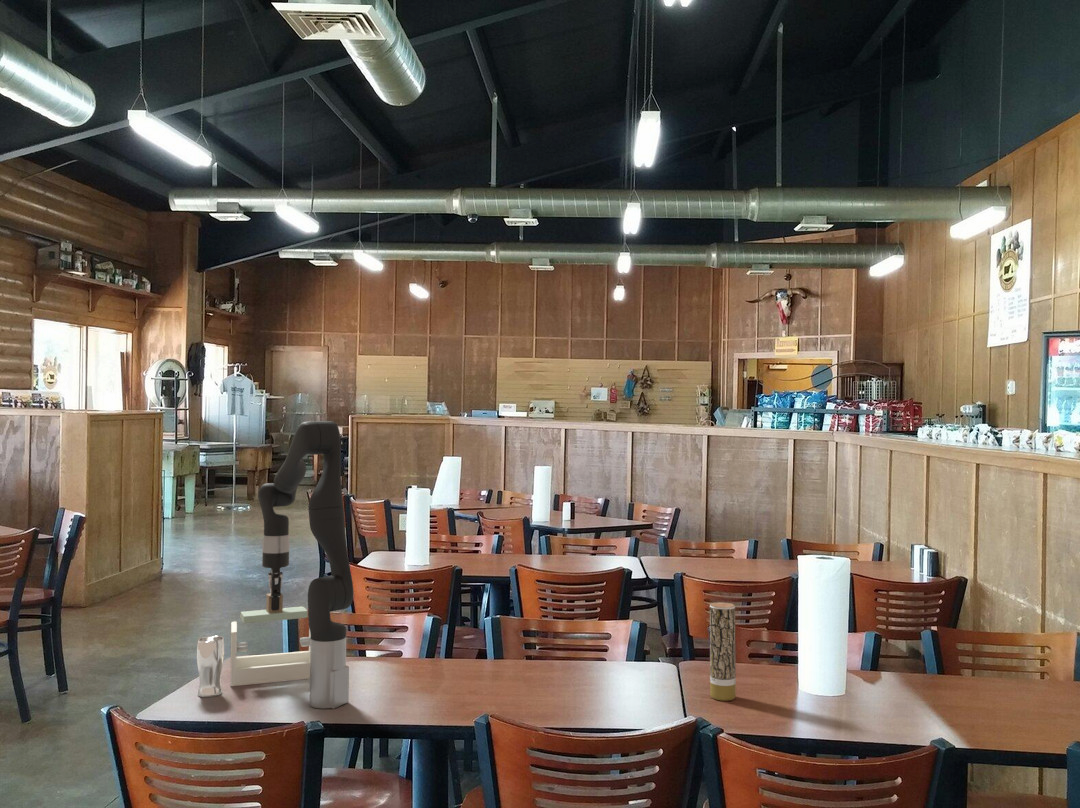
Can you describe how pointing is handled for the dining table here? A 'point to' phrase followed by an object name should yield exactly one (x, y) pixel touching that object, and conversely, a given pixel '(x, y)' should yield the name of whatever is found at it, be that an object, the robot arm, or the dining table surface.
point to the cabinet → (267, 664)
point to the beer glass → (210, 665)
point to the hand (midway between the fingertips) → (274, 608)
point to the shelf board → (273, 613)
